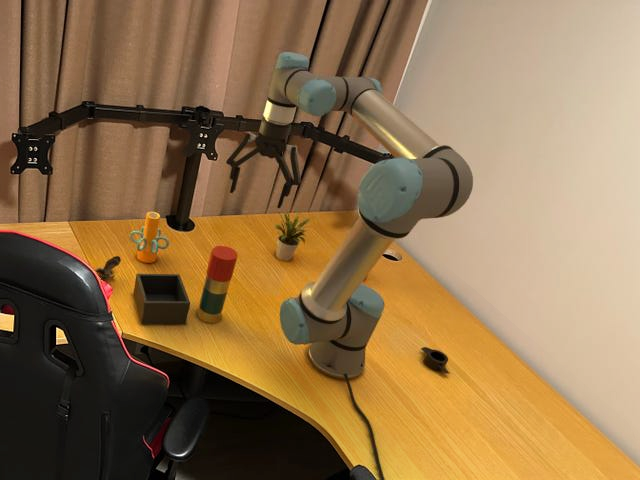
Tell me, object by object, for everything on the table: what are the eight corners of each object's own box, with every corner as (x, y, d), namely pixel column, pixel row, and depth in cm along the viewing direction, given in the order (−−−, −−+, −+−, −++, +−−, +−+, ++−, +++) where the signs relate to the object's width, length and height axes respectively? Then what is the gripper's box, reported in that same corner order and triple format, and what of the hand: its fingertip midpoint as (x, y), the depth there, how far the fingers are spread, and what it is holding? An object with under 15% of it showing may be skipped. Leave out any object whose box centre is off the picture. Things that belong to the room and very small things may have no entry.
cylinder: (123, 249, 199) (129, 206, 190) (153, 246, 203) (160, 203, 194) (138, 270, 191) (144, 227, 182) (169, 267, 196) (177, 224, 186)
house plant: (254, 259, 207) (267, 215, 196) (262, 240, 217) (275, 197, 206) (297, 272, 205) (312, 228, 194) (303, 252, 215) (318, 209, 204)
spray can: (222, 323, 178) (235, 277, 168) (200, 323, 177) (211, 277, 167) (216, 308, 183) (228, 263, 173) (194, 308, 181) (205, 263, 171)
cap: (234, 282, 169) (240, 260, 164) (210, 282, 167) (215, 259, 163) (227, 267, 174) (233, 246, 169) (204, 267, 172) (209, 245, 168)
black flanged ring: (421, 371, 175) (425, 363, 173) (418, 349, 183) (422, 342, 181) (448, 378, 175) (453, 371, 173) (445, 356, 182) (449, 349, 180)
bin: (185, 324, 175) (190, 303, 170) (141, 324, 172) (144, 302, 167) (175, 294, 185) (179, 274, 180) (133, 294, 182) (136, 273, 177)
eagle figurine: (121, 285, 182) (126, 264, 188) (109, 268, 178) (114, 246, 183) (98, 291, 185) (104, 270, 191) (86, 274, 181) (92, 253, 186)
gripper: (327, 130, 160) (302, 208, 173) (235, 103, 165) (217, 181, 178) (322, 137, 154) (296, 217, 167) (226, 110, 159) (208, 189, 172)
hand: (255, 198), depth 172 cm, fingers open, 13 cm apart
